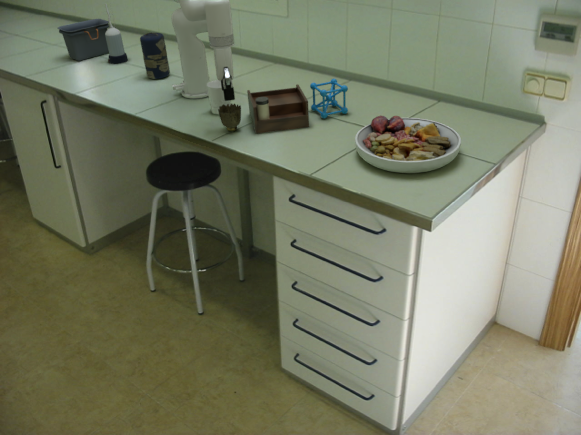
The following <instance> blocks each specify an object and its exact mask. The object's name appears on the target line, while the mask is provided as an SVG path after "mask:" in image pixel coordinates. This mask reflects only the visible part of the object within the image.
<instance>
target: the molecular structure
mask: <svg viewBox="0 0 581 435" xmlns="http://www.w3.org/2000/svg"><path fill="white" fill-rule="evenodd" d="M327 85H331V87H330V90H326V89H320V88H319V87H322V86H327ZM336 86H337V87H338V88H336ZM309 87H310V90H312V104H311V106H310V109H311V111H312V112H318V113H319V114H320V117H321V119H324V120H325V119H327V118H328V116H331V115H335V114H342V115H346V114H348V112H349V109H348V107H346V103H347V102H346V100H347V99H346V93H347V92H348V90H349V88H348V86H347V85H346V84H344V85H341V84H340V83H339V82H338V79H336V78H331V79H330V81H325V82H321V83H316V82H311V83H310V85H309ZM316 91H317V92H318V93H319V96H320V97H322V101H320V102H319V103H317V104H316ZM340 93H342V99H343V100H342V105H343V107H342V106H341V105H340V104H339V103H338V100H336V96H337V95H340ZM329 106H331V107H334V108H335V107H337V108H338V109H339V110H335V111H331V112H327V110H328V108H329ZM319 108H322V111H321V110H320V109H319Z"/></svg>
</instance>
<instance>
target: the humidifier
mask: <svg viewBox="0 0 581 435" xmlns="http://www.w3.org/2000/svg"><path fill="white" fill-rule="evenodd" d="M104 5H105V9H106V15H107V21H109V23H108V24H109V27H108V28H107V31H106V33H105V35H106V41H107V46H108V50H109V53H108V59H107V60H108V62H109V64H111V65H119V64H124V63H127V62H128V61H129V59H128V55H127V52H126V51H125V47H124V46H125V45H124V42H123V37H122V33H121V31H120V30H119V29H118V28H117V27H116V24H115V23H113V24H112V21H111V14H113V12H112V11H113V10H112V9H110V10H111V11H109V8H112V5H111V4H109V6H110V7H108V4H107V2H106V3H104ZM110 13H111V14H110ZM112 20H113V22H115V19H114V18H112ZM113 25H114V26H113ZM115 27H116V28H115Z"/></svg>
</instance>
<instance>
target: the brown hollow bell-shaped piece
mask: <svg viewBox="0 0 581 435" xmlns="http://www.w3.org/2000/svg"><path fill="white" fill-rule="evenodd" d="M230 104H231V105H230V106H229V104H227V106H225V105H224V104H223V105H222V106H219V108H220V109H218V112H219V114H218V115H219V120H220V122H221V124H222V126H223V127H224V128H225V129H226V131H227V132H228V133H235V132H236V131H238V126H239V125H240V124H241V119H242V105H241V104H240V105H239V104H238V103H237V104H236V103H231V102H230Z"/></svg>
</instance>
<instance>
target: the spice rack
mask: <svg viewBox="0 0 581 435" xmlns="http://www.w3.org/2000/svg"><path fill="white" fill-rule="evenodd" d="M246 92H247V102H248V103H247V104H248V112H249V118H250V121H251V124H252V127H253V129H254V130H253V131H254V133H255V134H256V135H257V134H264V133H265V134H266V133H272V132H281V131H287V130H296V129H303V128H310V117H309V116H310V115H309V100H308V98H307V97H306V95H305V93H304V91H303V89H302V88H301V87H300V84H298V83H297V84H296V85H295V87H288V88H280V89H270V90H264V91H253V92H251V90H250V89H248V90H247V91H246ZM258 97H267V98H268V99H269V115H270V119H267V120H259V121H258V119H257V108H256V101H255V99H256V98H258Z"/></svg>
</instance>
